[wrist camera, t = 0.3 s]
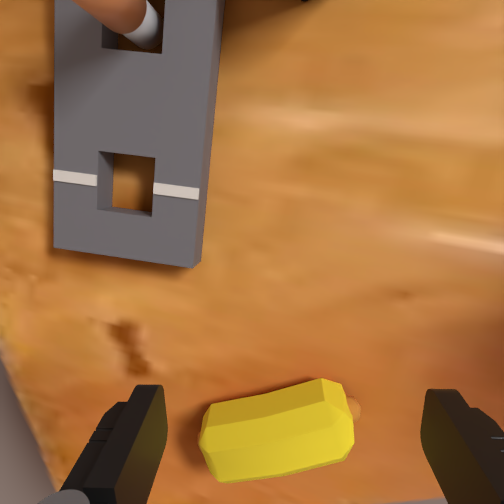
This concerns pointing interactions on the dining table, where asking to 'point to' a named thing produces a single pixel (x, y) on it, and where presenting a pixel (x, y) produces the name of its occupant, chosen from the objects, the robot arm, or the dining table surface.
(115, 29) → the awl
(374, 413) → the dining table surface
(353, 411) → the yellow faceted prism
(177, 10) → the grey peg board
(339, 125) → the dining table surface
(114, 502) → the robot arm
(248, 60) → the dining table surface
